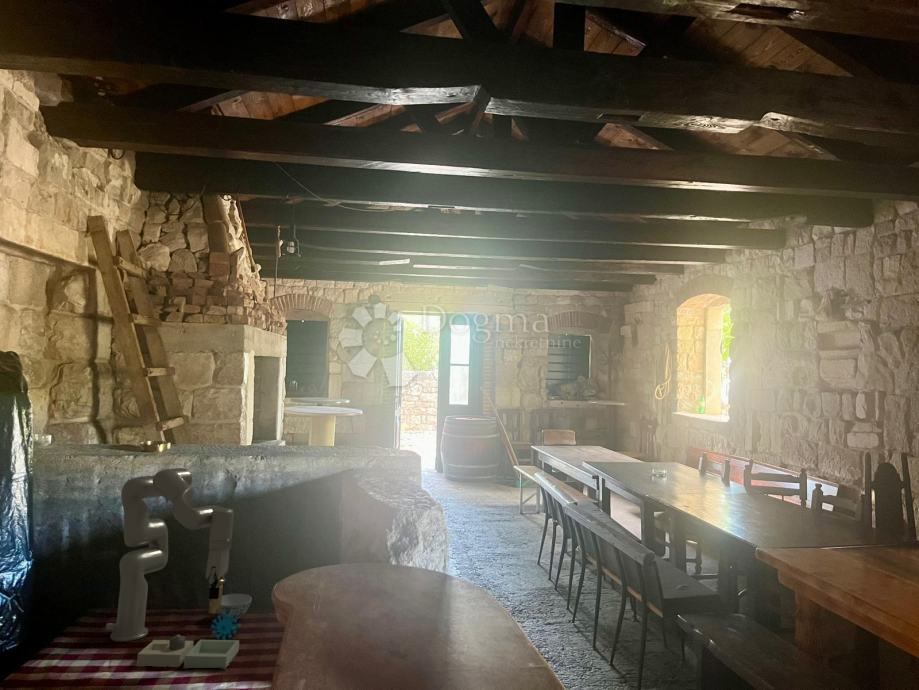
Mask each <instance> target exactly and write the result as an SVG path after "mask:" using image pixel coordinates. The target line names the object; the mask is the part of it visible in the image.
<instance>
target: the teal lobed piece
mask: <svg viewBox="0 0 919 690" xmlns="http://www.w3.org/2000/svg"><path fill="white" fill-rule="evenodd" d="M223 617H224V618H223ZM223 617H221V615H219V614H218V615H217V619H216V618H215V619H213V620H212V624H211V626H210V630H212V629H213V630H212V631H211V635H213V636H214V635H215V634H216V635H215V638H216V640H220V637H221V636H222V635H223V636H222V638H221V640H231V639H232V637H233V636H235V634H237V631H238V629H240V628H241V626H242V624H241V623H238V624H237V621H238V620H236V619H234V620H233V621H230V620H229V619H232V618H233V616H232V615H230V617H229V618H228V619H225V618H226V617H227V614H224V616H223ZM221 618H222V619H221ZM217 620H218V622H217ZM231 632H232V633H231ZM227 634H228V637H226V636H227ZM226 638H227V639H226Z"/></svg>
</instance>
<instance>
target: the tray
mask: <svg viewBox="0 0 919 690" xmlns="http://www.w3.org/2000/svg"><path fill="white" fill-rule="evenodd" d="M239 648H240V640H231V639H225V640H222V639H199V640H198V641H197V642H196V644H195V645H193V648H192V649H191V650H190V651H189V652H188V653H187V654H186V655H185V659H184V662H183V669H188V668H221V669H220V670H226V669H227V668H226V667H227V666H230V664H231V663H232V661H233V660H234V658H235V657H236V656H237V654H238V653H239V651H240V649H239ZM230 662H231V663H230ZM229 663H230V664H229Z"/></svg>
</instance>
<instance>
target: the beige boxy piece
mask: <svg viewBox="0 0 919 690" xmlns="http://www.w3.org/2000/svg"><path fill="white" fill-rule="evenodd" d="M193 647H194V640H186V636H185V635H181V634H176V635H174V636H171V637H170V638H169V639H153V640H152V642H150V643H148V645H147V646H145V647H144V648H143V649H142V650H140V652H138V653H137V660H136V667H145V666H152V667H153V666H154V667H155V668H156V667H157V668H160V667H161V668H162V667H163V668H164V667H165V668H179V667H180V666H182V664H184V659H185V655H186V654H187V653H188V652H189V651H190V650H191V649H192V648H193ZM167 666H168V667H167Z"/></svg>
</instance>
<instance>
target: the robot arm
mask: <svg viewBox="0 0 919 690" xmlns="http://www.w3.org/2000/svg"><path fill="white" fill-rule="evenodd" d="M192 483H193V475H192V473H191V471H190V470H189V469H187V468H184V467H178V468H166V469H162V470H160V471H157V472H156V473H155V474H154V475H144V476H143V475H141V476H136V477H134V478H131V479H128V480H127V481H126V482H125V483H124V485H123V486H122V489H121V492H120V497H121V503H122V507H123V539H124V544H125V545H126V546H127V547H130V548H136V547H141V546H146V545H148V547H145V548H139V549H136V550H131V551H129V552H127V553H125V554H124V555H123V556H122V557H121V558H120V561H119V573H120V574H119V577H120V586H119V596H118V606H117V607H118V608H117V614H116V615H117V617H116V622H115V623H114V622H113V623H112V622H111V623H110V622H107V623H106V625H105V631H107V632H108V631H111V634H110V639H111V640H112V641H114V642H122V643H123V642H131V641H132V642H133V641H135V640H136V641H137V640H139V639H142V638H144V637H147V635H148V633H149V629H148V628H147V627H145V620H146V611H147V603H148V602H147V601H148V589H149V585H148V582H147V580H146V578H145V576H144V575H147V574H149V573H154V572H158V571H160V570H162V569H164V568H165V567H166V565H167V563H168V559H169V529H168V526H167V523H166V522H165V521H164V519H162V518H159V517H158V518H156V517H155V518H150V517H149V513H150V512H149V507H148V505H147V503H146V502H145V500H144V499H147V498H148V499H149V498H155V497H157V498H158V497H163V496H164V497H165V498H166V499H167V500H168V501H169V502H170V503H172V513H173V517H174V519H175V520H176V521H177V522H178V523H179V524H181V525H182V526H183V527H184V528H185V529H188V530H192V531H195V530H199V529H205V528H210V531H209V541H208V542H209V543H208V550H209V551H208V557H207V563H206V564H207V565H206V571H205V579H208V583H209V591H208V594H209V595H208V599H209V600H210V599H218V598H219V587H218V586H219V579H220V578H225V576H226V574H227V573H228V570H229V562H230V549H231V548H232V542H233V541H232V540H233V529H234V517H235V513H234V509H232V508H229V507H228V508H227V507H222V506H220V505H215V504H214V505H213V504H211V505H205V506H198V507H192V506H191V505H190V504H188V503H189V502H191V500H192V498H193V497H194V494H195V490H194V488H193V486H192ZM225 579H226V578H225ZM215 580H217V583H216V581H215ZM224 586H225V582H224V583H223V591H222V596H223V595H224V590H225V589H224V588H225V587H224Z"/></svg>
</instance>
